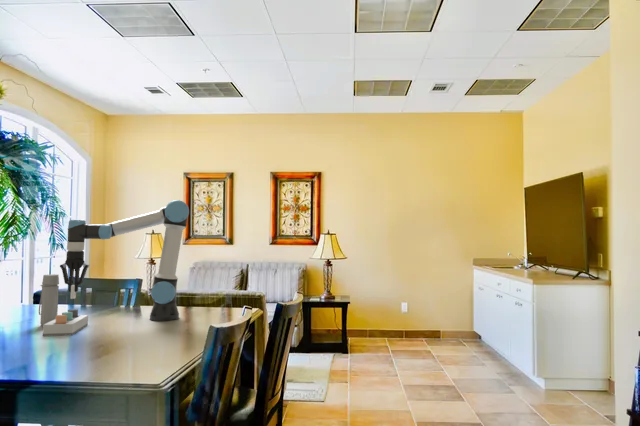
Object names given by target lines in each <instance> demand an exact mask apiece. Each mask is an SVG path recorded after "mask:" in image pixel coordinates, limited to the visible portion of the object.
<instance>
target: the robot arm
mask: <svg viewBox="0 0 640 426" xmlns="http://www.w3.org/2000/svg"><path fill="white" fill-rule="evenodd" d="M189 215H190V209H189V205H188V204H187V203H186V202H185V201H183V200H180V199H176V200H175V199H174V200H171V201H169V202H168V203H167V204H166V206H163V207H161V208H160V209H159V210H156V211H152V212H148V213H145V214H140V215H137V216H132V217H130V218H125V219H121V220H117V221H112V222H109V223H105V224H104V223H102V224H100V223H99V224H98V223H97V224H96V223H91V224H90V223H86V219H70V220H69V221H68V224H67V225H68V226H67V227H68V228H67V243H66V259H65V261H64V263H62V264H60V265H59V267H60V269H61V271H62V277H63V281H64V284H65V285H68V292H69V293H70V300H73V299H74V300H75V299H76V298H77V297H76V296H77V292H78V291H79V286H80V285H81V284H83V283H84V279H85V277H86V274H87V271H88V268H89V267H90V264H87V263H85V262H86V261H85V259H84V257H85V252H84V250H85V242H86V241H85V240H110V239H111V238H113V237H116V236H120V235H124V234H129V233H132V232H136V231H140V230H143V229H147V228H151V227H155V226H160V225H163V226H164V228H165V230H164V231H165V232H164V237H163V243H162V247H161V248H162V249H161V256H160V260H159V261H160V262H159V265H158V266H159V267H158V273H156V274H155V275H154V278H153V281H152V287H151V290H150V296H151V298H152V300H153V306H152V309H151V311H150V313H149V320H151V321H156V322H157V321H158V322H160V321H161V322H164V321H165V322H166V321H174V320H178V319H179V318H180V313H179V310H178V306H177V290H178V289H177V288H178V287H177V285H178V279H179V278H178V276H177V275H176V272H177V267H178V261H179V255H180V249H181V243H182V236H183V231H184V229H186V228H187V225H188V218H189ZM67 268H68V270H67ZM81 268H82V271H81ZM80 271H81V274H80ZM68 273H69V275H68Z"/></svg>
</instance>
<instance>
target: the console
mask: <svg viewBox="0 0 640 426" xmlns="http://www.w3.org/2000/svg"><path fill="white" fill-rule="evenodd" d="M88 322H89V315H88V314H85V315H83V314H82V315H79V314H78V317H77V318H72V321H67V323H66V324H55V323H56V319H54V320H52V321H50V322H48V323H46V324H44V325H43V326H42V337H49V336H50V337H54V336H55V337H56V336H58V337H59V336H73V335H74V334H76V333H78V332H79V331H81V330H83V329H84V328H86V327H87V326H88V325H89V324H88Z"/></svg>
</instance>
